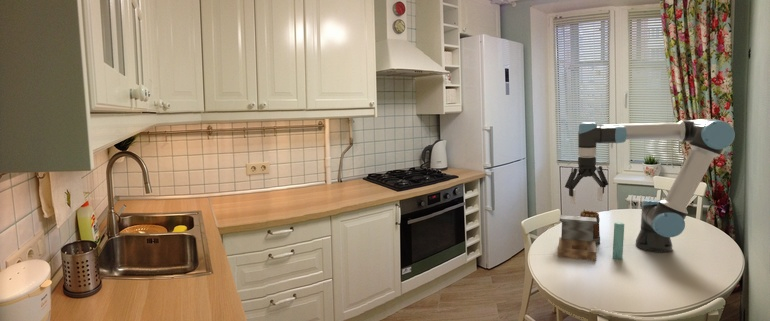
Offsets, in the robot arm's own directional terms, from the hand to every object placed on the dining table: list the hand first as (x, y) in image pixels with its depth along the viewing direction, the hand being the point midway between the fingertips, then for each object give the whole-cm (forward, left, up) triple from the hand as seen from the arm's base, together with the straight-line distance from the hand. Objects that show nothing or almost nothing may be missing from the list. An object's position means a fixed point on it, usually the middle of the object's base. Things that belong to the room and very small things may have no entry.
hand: (586, 201), depth 208 cm
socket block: (+3, +2, -24) cm, 24 cm away
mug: (-2, -18, -24) cm, 31 cm away
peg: (-14, +4, -24) cm, 28 cm away
